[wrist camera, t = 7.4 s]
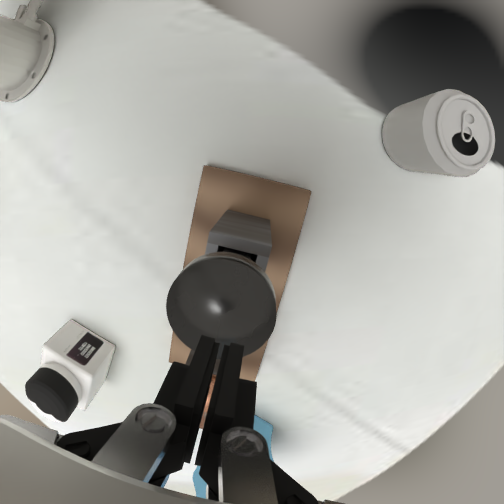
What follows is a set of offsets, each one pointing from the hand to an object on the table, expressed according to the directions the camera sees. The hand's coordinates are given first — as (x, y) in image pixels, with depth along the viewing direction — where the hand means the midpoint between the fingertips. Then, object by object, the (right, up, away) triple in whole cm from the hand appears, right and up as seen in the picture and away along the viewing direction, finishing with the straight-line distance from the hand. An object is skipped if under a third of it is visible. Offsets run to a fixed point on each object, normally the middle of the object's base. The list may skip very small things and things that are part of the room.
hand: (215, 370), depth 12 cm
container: (-22, -9, +28) cm, 37 cm away
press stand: (-1, +1, +24) cm, 24 cm away
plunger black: (0, +5, +16) cm, 16 cm away
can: (+19, +17, +19) cm, 32 cm away
